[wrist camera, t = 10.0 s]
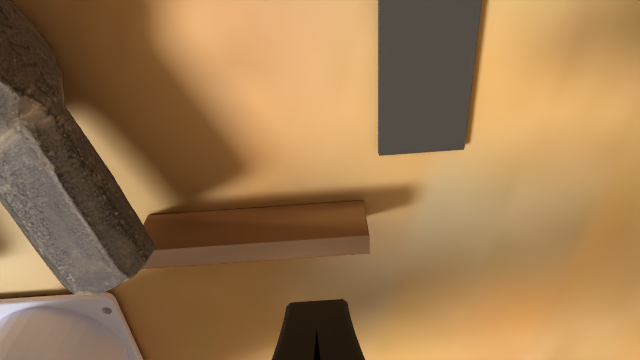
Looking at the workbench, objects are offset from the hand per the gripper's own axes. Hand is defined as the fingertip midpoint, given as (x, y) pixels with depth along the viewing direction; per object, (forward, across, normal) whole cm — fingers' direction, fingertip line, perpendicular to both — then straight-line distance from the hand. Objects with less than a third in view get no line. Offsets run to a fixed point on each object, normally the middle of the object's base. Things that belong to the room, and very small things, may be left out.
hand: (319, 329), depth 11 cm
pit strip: (+10, -4, -4) cm, 12 cm away
